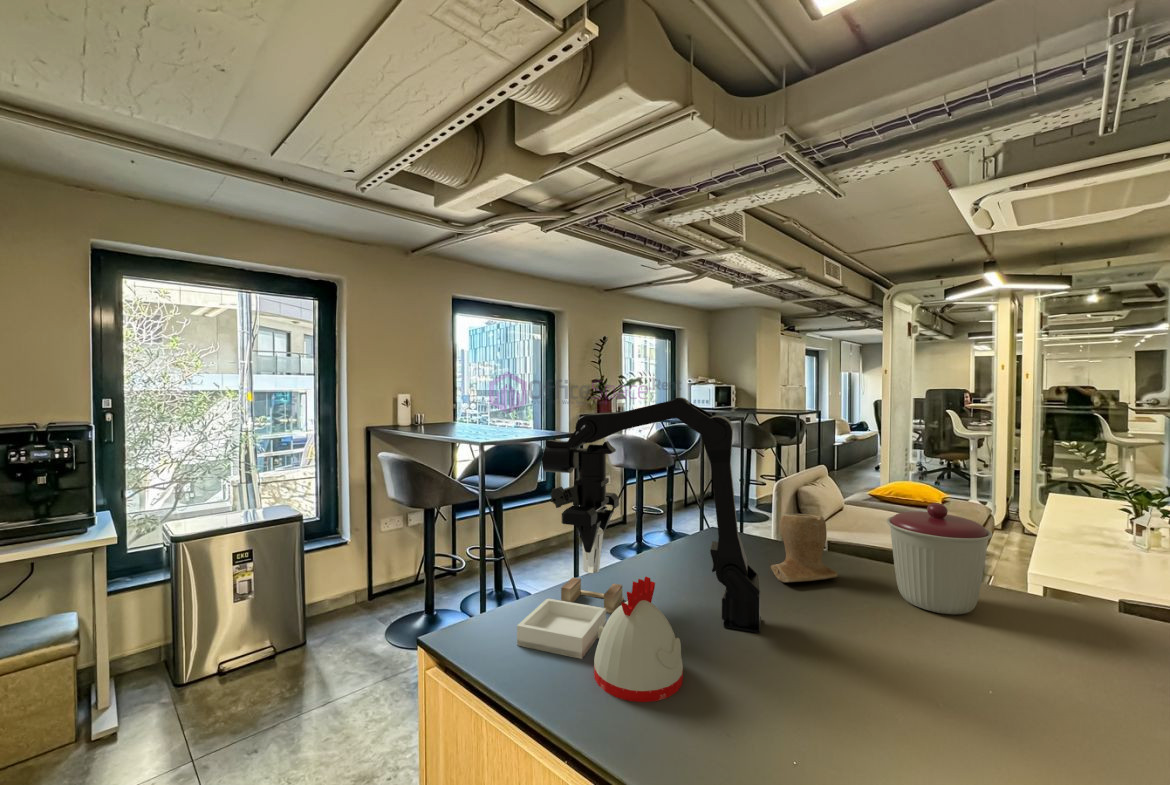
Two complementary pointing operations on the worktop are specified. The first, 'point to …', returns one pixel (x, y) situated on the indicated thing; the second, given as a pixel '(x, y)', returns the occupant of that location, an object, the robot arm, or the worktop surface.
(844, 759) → the worktop surface
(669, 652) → the kitchen timer
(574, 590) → the wooden joined piece
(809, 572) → the tan flared pedestal
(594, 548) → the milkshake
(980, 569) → the canister
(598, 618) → the tray
